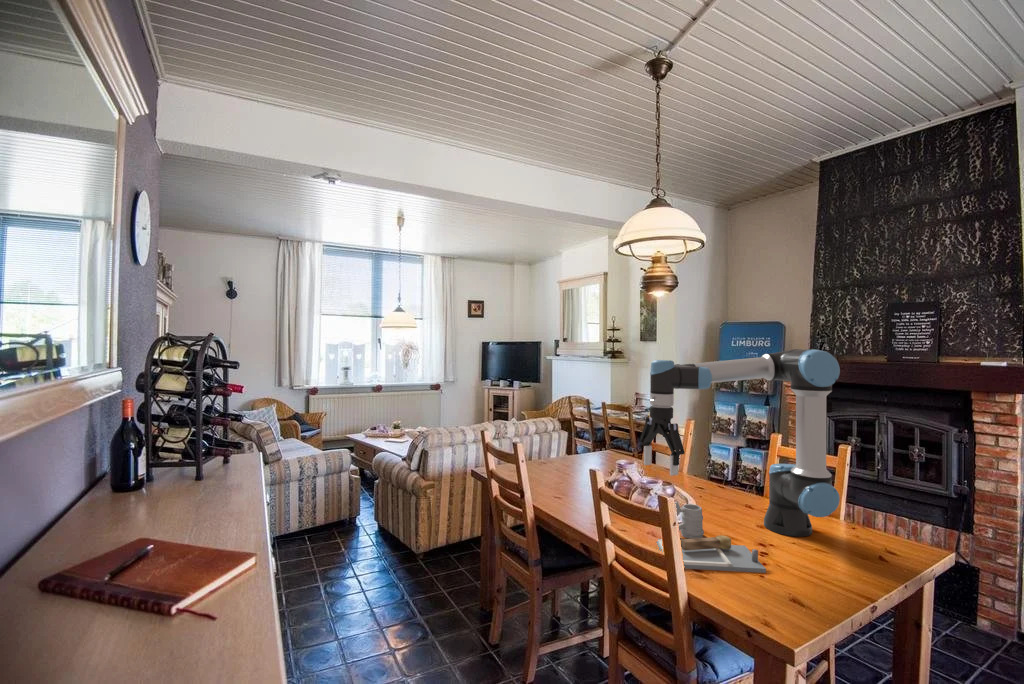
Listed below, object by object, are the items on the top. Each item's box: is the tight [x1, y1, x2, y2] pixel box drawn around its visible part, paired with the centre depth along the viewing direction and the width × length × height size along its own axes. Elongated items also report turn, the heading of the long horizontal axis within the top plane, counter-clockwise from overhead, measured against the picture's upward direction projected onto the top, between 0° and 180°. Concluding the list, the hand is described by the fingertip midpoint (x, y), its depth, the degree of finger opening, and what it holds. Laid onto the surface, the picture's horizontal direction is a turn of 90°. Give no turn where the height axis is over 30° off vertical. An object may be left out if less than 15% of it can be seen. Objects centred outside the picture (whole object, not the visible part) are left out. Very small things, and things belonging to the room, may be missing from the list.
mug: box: [674, 501, 705, 539], centre depth 166 cm, size 8×12×12 cm, turn 102°
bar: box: [680, 535, 732, 551], centre depth 151 cm, size 16×4×2 cm, turn 99°
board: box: [655, 538, 767, 574], centre depth 149 cm, size 28×16×4 cm, turn 84°
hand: (660, 469), depth 161 cm, fingers open, 13 cm apart
